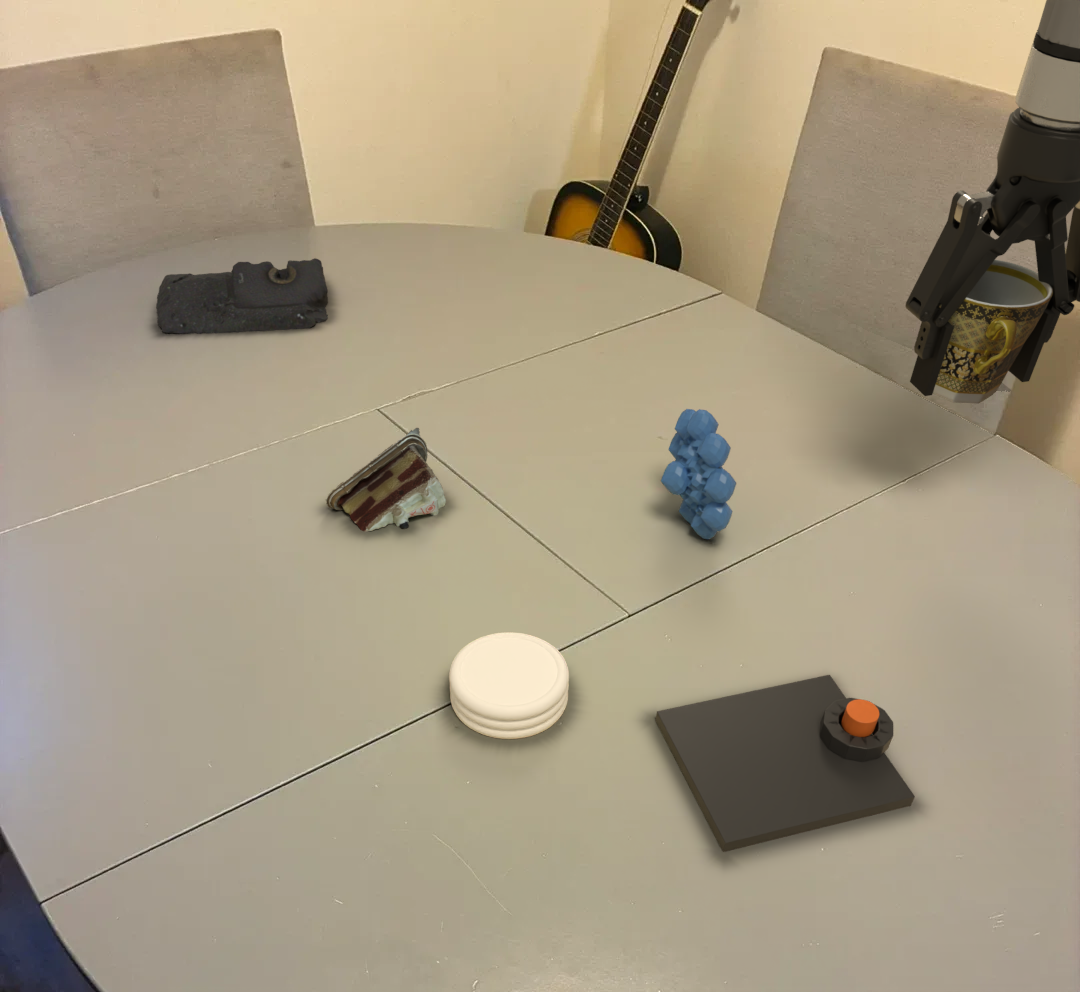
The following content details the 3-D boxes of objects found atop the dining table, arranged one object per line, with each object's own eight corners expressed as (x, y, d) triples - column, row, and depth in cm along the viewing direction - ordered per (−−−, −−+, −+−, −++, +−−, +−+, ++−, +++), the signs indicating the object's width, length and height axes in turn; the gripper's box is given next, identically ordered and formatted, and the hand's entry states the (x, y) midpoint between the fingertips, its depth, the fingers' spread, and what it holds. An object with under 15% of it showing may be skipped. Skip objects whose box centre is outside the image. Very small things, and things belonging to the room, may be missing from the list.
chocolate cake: (353, 553, 102) (433, 466, 98) (318, 503, 104) (395, 415, 100) (408, 569, 110) (484, 489, 106) (374, 522, 112) (447, 442, 108)
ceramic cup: (895, 358, 101) (924, 255, 94) (997, 362, 101) (1035, 259, 94) (922, 428, 92) (957, 320, 85) (1034, 433, 92) (1079, 325, 85)
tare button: (863, 711, 84) (869, 696, 83) (880, 733, 82) (885, 718, 81) (835, 717, 84) (840, 702, 82) (851, 740, 82) (856, 725, 81)
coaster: (440, 734, 85) (437, 705, 82) (462, 652, 92) (461, 623, 89) (560, 748, 84) (561, 719, 82) (574, 665, 91) (575, 635, 88)
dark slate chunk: (164, 285, 140) (156, 250, 136) (328, 277, 143) (324, 242, 139) (154, 339, 130) (144, 302, 126) (330, 329, 132) (325, 292, 129)
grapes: (632, 498, 108) (643, 394, 100) (691, 487, 110) (707, 384, 101) (677, 564, 101) (693, 458, 92) (739, 552, 102) (761, 446, 94)
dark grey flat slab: (839, 682, 90) (847, 658, 88) (924, 804, 81) (935, 779, 79) (654, 722, 86) (658, 697, 84) (722, 854, 77) (728, 830, 75)
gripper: (1151, 89, 84) (1048, 348, 101) (910, 109, 80) (843, 376, 96) (1215, 119, 79) (1096, 386, 96) (962, 141, 75) (882, 417, 91)
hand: (969, 381), depth 96 cm, fingers closed on ceramic cup, 9 cm apart
